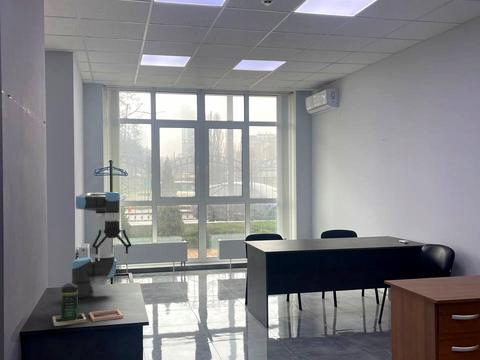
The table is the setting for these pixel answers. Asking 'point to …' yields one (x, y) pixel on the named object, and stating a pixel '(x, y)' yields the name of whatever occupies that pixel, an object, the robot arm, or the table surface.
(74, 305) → the coffee jar
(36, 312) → the table surface
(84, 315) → the frame
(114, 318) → the frame
